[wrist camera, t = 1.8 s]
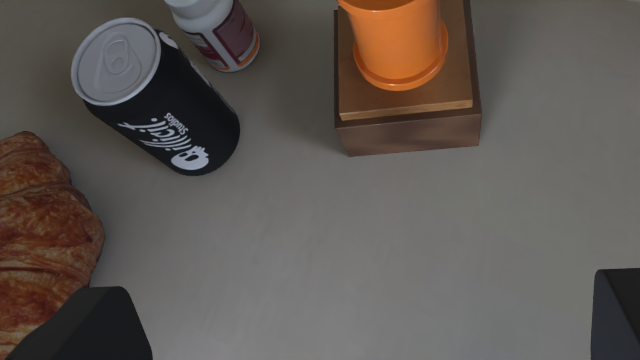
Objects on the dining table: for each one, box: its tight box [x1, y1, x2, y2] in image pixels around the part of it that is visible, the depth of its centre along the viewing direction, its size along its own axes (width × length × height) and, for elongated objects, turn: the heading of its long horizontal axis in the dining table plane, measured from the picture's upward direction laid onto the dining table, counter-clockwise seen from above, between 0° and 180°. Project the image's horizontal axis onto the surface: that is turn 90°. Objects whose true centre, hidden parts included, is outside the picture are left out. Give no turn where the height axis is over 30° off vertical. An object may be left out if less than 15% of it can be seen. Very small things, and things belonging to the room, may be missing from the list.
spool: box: [336, 0, 448, 91], centre depth 29 cm, size 6×6×8 cm
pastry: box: [0, 131, 105, 360], centre depth 38 cm, size 17×15×8 cm
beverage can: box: [71, 17, 240, 176], centre depth 36 cm, size 7×7×12 cm
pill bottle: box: [164, 0, 260, 72], centre depth 40 cm, size 5×5×8 cm
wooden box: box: [334, 0, 482, 157], centre depth 36 cm, size 9×9×6 cm
